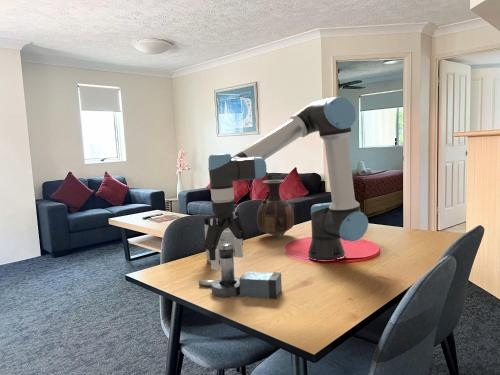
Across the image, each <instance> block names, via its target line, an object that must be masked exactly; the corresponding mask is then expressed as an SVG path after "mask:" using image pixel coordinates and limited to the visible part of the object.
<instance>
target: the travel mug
mask: <svg viewBox="0 0 500 375" xmlns="http://www.w3.org/2000/svg"><path fill="white" fill-rule="evenodd" d="M209 219H215V215H211V216H206V217H205V218H204V219H203V220H204V221H203V222H204V223H203V224H204V238H205V240H206V235H207V231H208V226H209V225H208V220H209ZM218 228H219V227H218ZM219 245H220V239H219V242H218V245H217V247H216V250H218V258H219V264H220V255H219ZM205 254H206V263H207V264H209V263H210V265H211V260H210V255H209V250H206V249H205Z"/></svg>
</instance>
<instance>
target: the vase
mask: <svg viewBox="0 0 500 375" xmlns="http://www.w3.org/2000/svg"><path fill="white" fill-rule="evenodd" d="M285 181H286V180H285V179H267V180H263V181H262V183H263V184H266V185H267V186H268V198H267V199H265V198H264V199H263V200H262V201H261V204H260V205H259V207H258V209H257V213H256V224H257V228H258V230H259V231H261V232H262V233H265V234H268V235H271V236H273V237H275V238H276V237H279V236H284V235H285V234H286V233H287V232H288V231H290V230H291V229H292V228H293V226H294V221H295V219H294V218H295V217H294V213H293V209H292V207H291V206H290V204H289V202H287V201H286V200H285V199H283V198H282V197H281V195H280V187H281V184H282V183H284V182H285Z"/></svg>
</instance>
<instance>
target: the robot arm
mask: <svg viewBox="0 0 500 375" xmlns="http://www.w3.org/2000/svg"><path fill="white" fill-rule="evenodd" d="M289 119H290V120H289V121H287V122H285V123H283V124H282V125H280V126H279V127H277V128H276V129H274V130H273V131H271V132H269V133H268V134H266V135H265V136H263V137H261V138H260V139H258V140H256V141H255V142H253V143H252V144H251V145H249V146H247V147H246V148H244V149H243V150H241V151H240V152H238V153H236V154H235V155H233V156H232V154H230V153H216V154H211V155H209V156H208V167H207V168H208V174H209V184H210V194H211V195H210V196H211V201H212V202H211V210H212V211H211V212H212V214H214V216H215V219H209V220H208V225H209V226H208V231H207V235H206V240H205V241H204V245H203V249H204V250H205V251H206V250H209V255H210V260H211V264H210V269H211V270H216V271H219V270H220V263H219V258H218V250H216V247H217V245H218V242H219V239H220V237H221V234H222V232H223V231H224V229H227V228H229V229H230V230H231V232H232V233H233V234H234V236H235V237H236V238H237V239H236V238H235V239H234V244H235V251H234V254H235V257H236V258H240V259H241V258H244V254H243V252H244V251H243V245H242V238H243V240H244V239H245V238H246V234H247V233H246V231H245V227H244V225H243V223H242V221H241V219H240V212H239V211H235V210H236V207H235V206H236V204H235V201H234V199H235V193H234V192H235V191H234V182H239V181H240V182H241V181H250V180H255V181H257V180H258V179H259V180H260V179H263V178H264V177H265V176H266V174H267V164H266V163H267V162H266V160H267V159H268V158H270V157H271V156H273V155H275V154H276V153H277V152H279V151H280V150H282V149H284V148H285V147H287V146H288V145H290V144H291V143H293V142H294V141H296V140H298V139H299V138H305V137H306V136H308V135H310V134H312V133H316V132H319V133H318V134H319V138H320V139H322V140H323V141H324V147H325V148H324V149H325V157H326V163H327V164H326V165H327V173H328V180H329V187H330V188H329V189H330V196H331V202H325V203H316V204H313V205H312V206H311V208H310V216H311V217H310V218H311V219H310V220H311V222H310V224H311V242H310V246H309V248H308V253H307V254H308V258H309V257H310V258H312V259H316V260H332V259H337V258H340V257H343V256H344V255H345V256H346V252H345V249H344V246H343V243H342V240H343V241H348V242H356V241H359V240H360V239H362V238H363V237H364V235H365V234H366V233H367V231H368V228H369V219H368V217H367V215H366V214H365V213H364V212H362V211H361V205H360V204H361V203H360V202H358V201H357V200H356V197H355V189H354V178H353V170H352V164H351V154H350V147H349V146H350V145H349V136H350V135H351V134H352V126H353V125H354V123H355V121H356V119H357V110H356V108H355V106H354V104H353V103H352V101H351V100H349V99H348V98H347V97H344V96H332V97H329V98H324V99H322V100H321V99H320V100H316V101H313V102H311V103H309V104H308V105H307V106H305V107H303V108H302V109H300V110H299V111H298V112H296V113H295V114H294V115H291V116H290V118H289ZM218 227H219V228H218ZM310 258H309V259H310Z"/></svg>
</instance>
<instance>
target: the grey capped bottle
mask: <svg viewBox="0 0 500 375" xmlns="http://www.w3.org/2000/svg"><path fill="white" fill-rule="evenodd" d="M234 254H235V253H234V251H233V244H230V243H224V244H220V245H219V255H220V263H219V267H220V278H221V282H222V286H230V285H234V284H235V277H236V276H235V262H234Z"/></svg>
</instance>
